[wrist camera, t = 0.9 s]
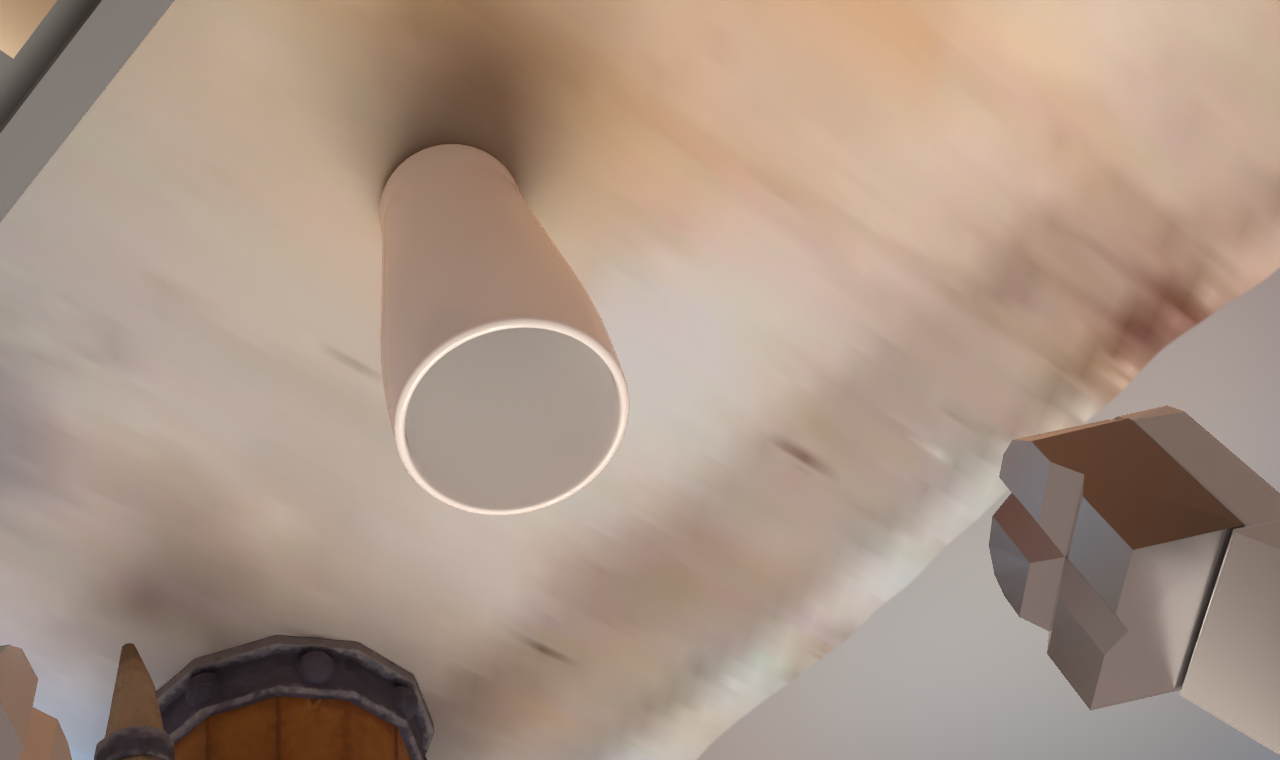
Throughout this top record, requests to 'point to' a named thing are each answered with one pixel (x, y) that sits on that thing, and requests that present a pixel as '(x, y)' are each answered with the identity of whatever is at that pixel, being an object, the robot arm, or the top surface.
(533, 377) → the white tumbler
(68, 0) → the guide channel
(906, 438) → the top surface
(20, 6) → the block
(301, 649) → the mug
